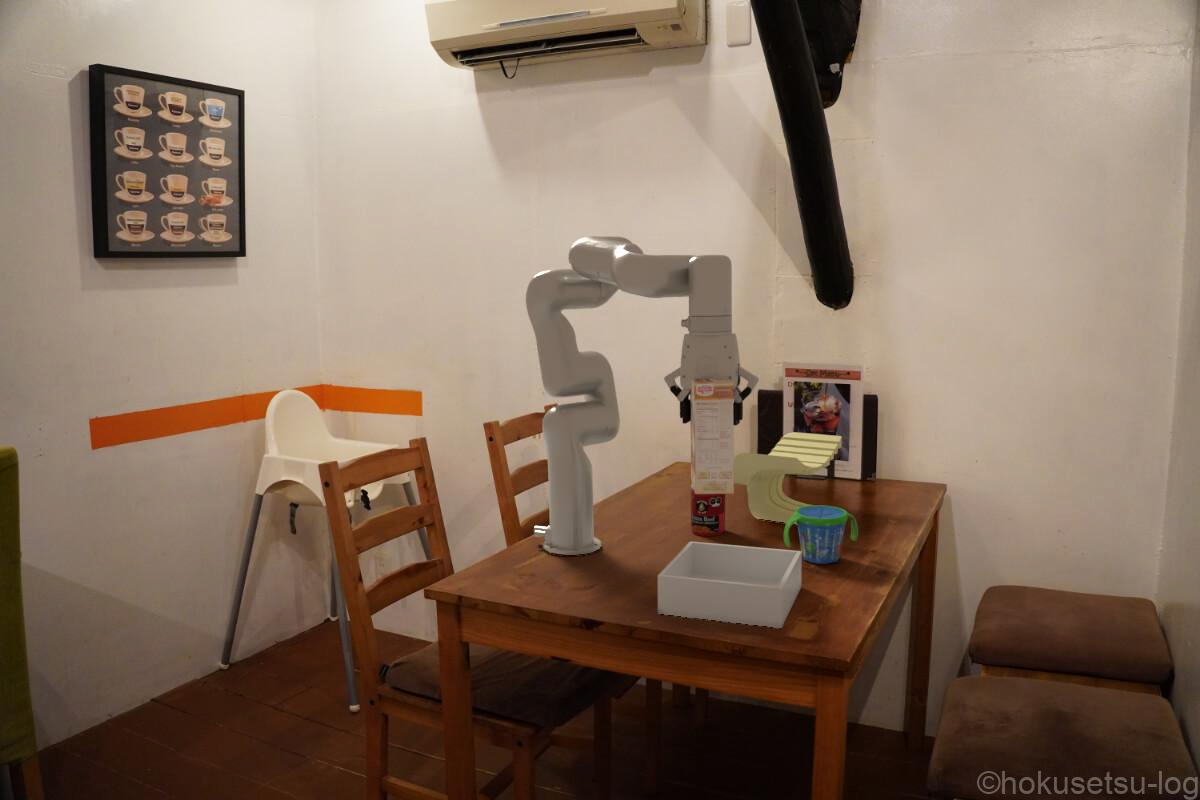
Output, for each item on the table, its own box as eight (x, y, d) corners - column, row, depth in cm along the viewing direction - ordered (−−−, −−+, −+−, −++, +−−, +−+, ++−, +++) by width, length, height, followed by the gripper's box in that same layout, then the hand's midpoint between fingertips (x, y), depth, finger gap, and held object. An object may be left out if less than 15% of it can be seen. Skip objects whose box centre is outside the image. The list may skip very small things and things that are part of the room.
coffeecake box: (690, 475, 177) (689, 372, 174) (728, 475, 176) (727, 371, 174) (693, 494, 162) (692, 382, 159) (734, 494, 162) (734, 381, 159)
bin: (657, 614, 165) (657, 575, 164) (690, 575, 185) (689, 541, 184) (781, 628, 157) (781, 588, 156) (801, 587, 177) (801, 551, 176)
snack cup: (791, 569, 188) (791, 519, 186) (776, 553, 198) (776, 506, 197) (866, 565, 189) (868, 516, 188) (848, 550, 200) (849, 503, 198)
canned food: (685, 534, 213) (685, 487, 212) (698, 525, 220) (698, 479, 219) (717, 538, 210) (717, 490, 208) (729, 529, 217) (729, 482, 215)
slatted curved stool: (780, 498, 244) (781, 431, 242) (840, 506, 236) (841, 436, 233) (730, 526, 219) (731, 451, 217) (795, 535, 211) (796, 457, 208)
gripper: (656, 327, 165) (658, 424, 167) (754, 327, 159) (755, 428, 161) (669, 324, 172) (670, 418, 174) (763, 324, 166) (763, 421, 168)
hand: (711, 423), depth 168 cm, fingers closed on coffeecake box, 8 cm apart
